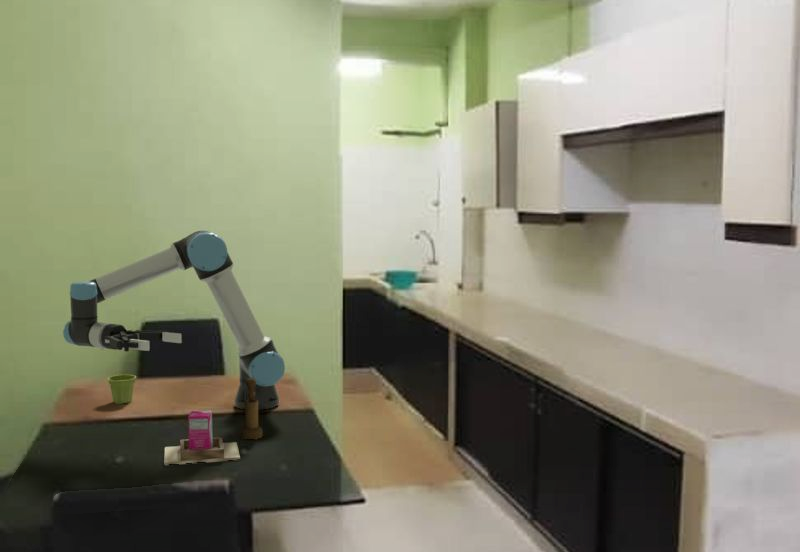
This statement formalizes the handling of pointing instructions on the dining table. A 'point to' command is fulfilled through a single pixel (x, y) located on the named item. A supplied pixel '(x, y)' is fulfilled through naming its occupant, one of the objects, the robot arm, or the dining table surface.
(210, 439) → the supplement box
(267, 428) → the dining table surface
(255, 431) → the brown tall column piece
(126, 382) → the plant pot
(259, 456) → the dining table surface
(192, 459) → the dock
